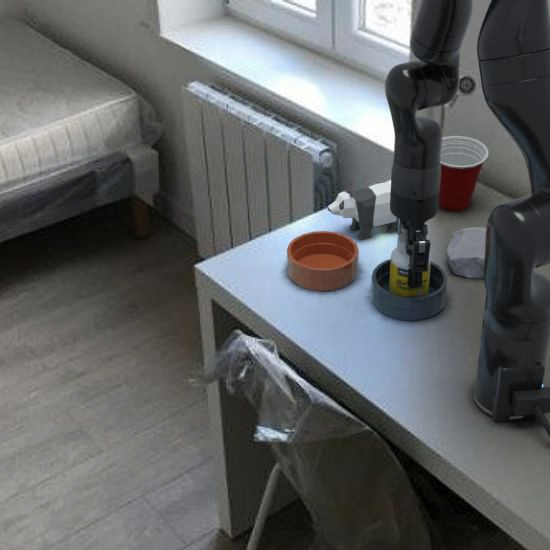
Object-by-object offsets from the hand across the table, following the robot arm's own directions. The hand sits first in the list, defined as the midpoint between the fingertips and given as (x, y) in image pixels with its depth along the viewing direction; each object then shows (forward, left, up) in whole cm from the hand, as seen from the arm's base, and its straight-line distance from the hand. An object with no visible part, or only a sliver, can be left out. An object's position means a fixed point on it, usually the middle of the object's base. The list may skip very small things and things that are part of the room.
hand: (409, 273), depth 158 cm
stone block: (+10, -14, -5) cm, 18 cm away
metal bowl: (0, 0, -5) cm, 5 cm away
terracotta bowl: (+10, +13, -5) cm, 17 cm away
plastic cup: (+29, -15, -5) cm, 33 cm away
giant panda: (+22, +3, -5) cm, 23 cm away
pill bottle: (0, 0, -5) cm, 5 cm away
